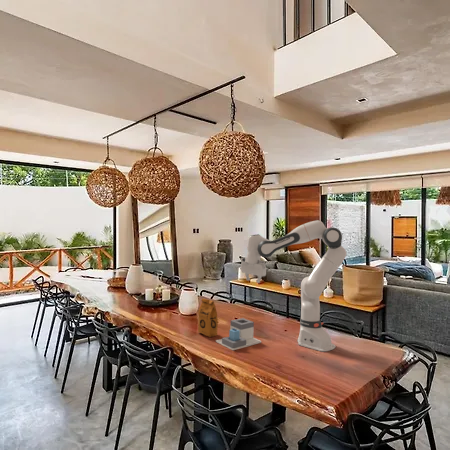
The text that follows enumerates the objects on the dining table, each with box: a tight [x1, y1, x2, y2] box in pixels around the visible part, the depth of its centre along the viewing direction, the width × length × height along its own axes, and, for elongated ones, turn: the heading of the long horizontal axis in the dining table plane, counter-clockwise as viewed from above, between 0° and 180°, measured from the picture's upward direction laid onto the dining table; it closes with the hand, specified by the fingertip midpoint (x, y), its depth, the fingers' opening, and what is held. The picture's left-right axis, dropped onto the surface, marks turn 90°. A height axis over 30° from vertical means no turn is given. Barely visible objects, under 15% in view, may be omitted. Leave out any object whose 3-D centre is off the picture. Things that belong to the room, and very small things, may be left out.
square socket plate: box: [215, 317, 262, 351], centre depth 204 cm, size 16×22×11 cm
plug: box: [228, 328, 240, 341], centre depth 198 cm, size 4×4×9 cm
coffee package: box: [197, 298, 219, 338], centre depth 217 cm, size 10×12×22 cm
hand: (253, 281), depth 218 cm, fingers open, 8 cm apart
